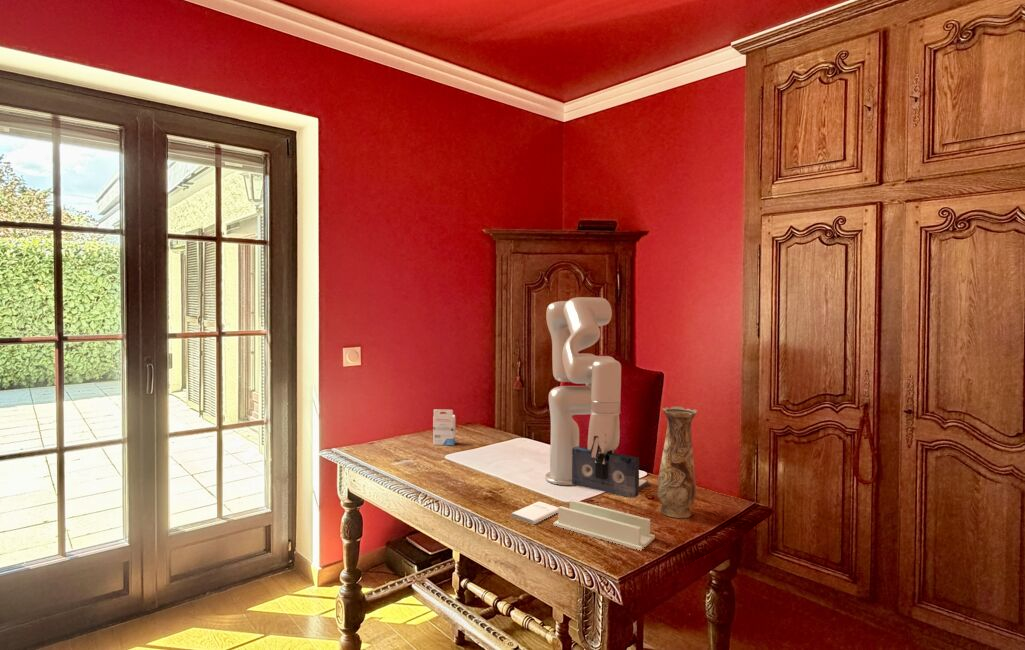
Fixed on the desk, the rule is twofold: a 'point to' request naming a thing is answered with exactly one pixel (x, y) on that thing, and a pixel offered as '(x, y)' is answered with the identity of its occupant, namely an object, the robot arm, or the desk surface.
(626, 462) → the vhs cassette tape
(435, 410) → the ink box
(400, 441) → the desk surface
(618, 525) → the rack
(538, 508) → the external hard drive
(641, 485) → the phone case
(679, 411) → the vase
